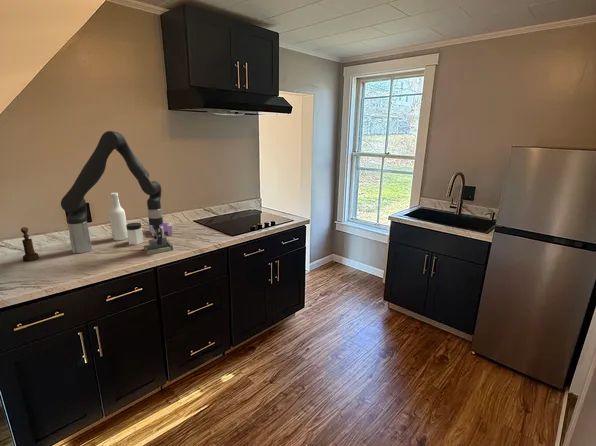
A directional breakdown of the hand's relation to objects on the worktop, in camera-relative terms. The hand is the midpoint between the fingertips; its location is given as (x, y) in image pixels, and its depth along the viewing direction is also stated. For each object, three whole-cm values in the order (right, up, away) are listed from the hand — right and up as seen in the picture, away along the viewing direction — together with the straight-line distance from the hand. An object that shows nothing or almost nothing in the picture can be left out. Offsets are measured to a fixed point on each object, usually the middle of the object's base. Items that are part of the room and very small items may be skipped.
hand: (158, 242), depth 186 cm
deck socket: (0, -4, +1) cm, 4 cm away
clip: (-12, +4, +31) cm, 33 cm away
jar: (-19, -1, +12) cm, 23 cm away
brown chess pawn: (-61, -8, -16) cm, 64 cm away
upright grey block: (0, -4, +1) cm, 4 cm away
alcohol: (-32, +1, +18) cm, 37 cm away
